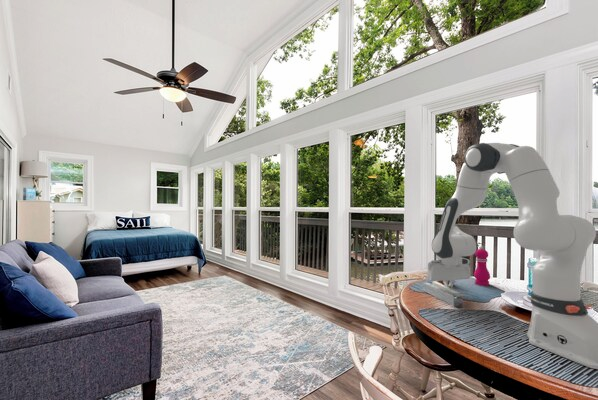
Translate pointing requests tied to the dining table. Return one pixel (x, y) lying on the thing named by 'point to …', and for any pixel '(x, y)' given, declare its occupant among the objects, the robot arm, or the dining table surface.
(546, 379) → the dining table surface
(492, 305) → the dining table surface
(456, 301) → the tongs fixed handle
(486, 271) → the pepper mill
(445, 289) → the hinged handle
